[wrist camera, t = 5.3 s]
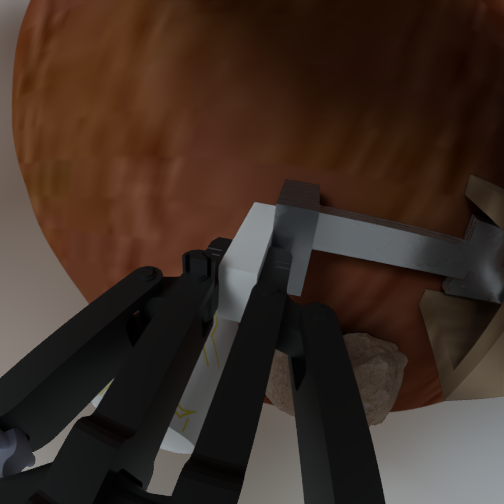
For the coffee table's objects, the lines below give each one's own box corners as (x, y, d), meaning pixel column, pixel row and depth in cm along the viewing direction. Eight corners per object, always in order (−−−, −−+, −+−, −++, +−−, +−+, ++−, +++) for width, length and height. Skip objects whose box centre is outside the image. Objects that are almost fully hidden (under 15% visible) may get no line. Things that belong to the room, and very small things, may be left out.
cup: (247, 302, 23) (199, 434, 13) (229, 356, 28) (192, 460, 18) (157, 270, 24) (78, 378, 14) (157, 329, 28) (103, 421, 18)
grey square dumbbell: (287, 168, 16) (277, 193, 13) (562, 251, 13) (587, 280, 9) (275, 253, 20) (263, 296, 16) (534, 303, 16) (553, 335, 12)
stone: (406, 315, 23) (410, 353, 15) (405, 399, 23) (400, 461, 14) (286, 324, 29) (236, 357, 20) (294, 400, 29) (252, 450, 20)
